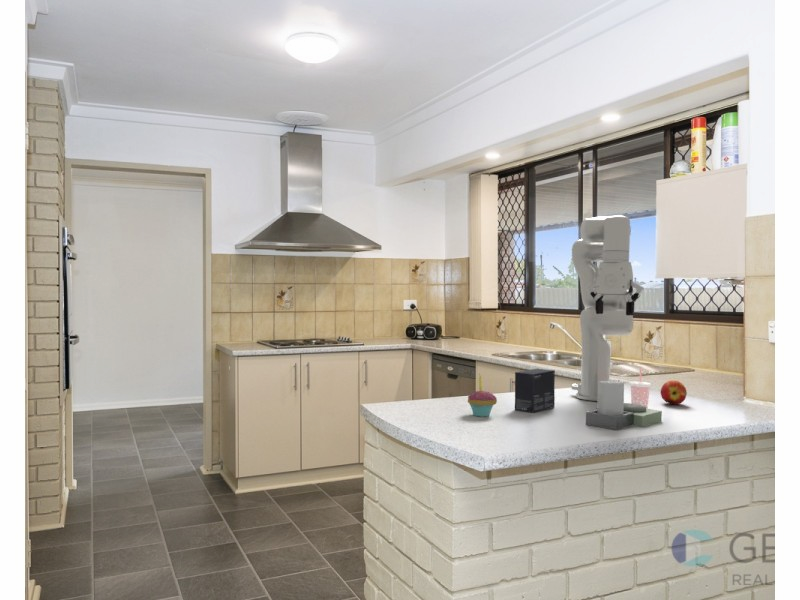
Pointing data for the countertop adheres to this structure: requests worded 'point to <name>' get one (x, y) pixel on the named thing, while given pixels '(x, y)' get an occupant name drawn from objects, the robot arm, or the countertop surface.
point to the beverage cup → (640, 392)
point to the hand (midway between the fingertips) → (614, 314)
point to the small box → (534, 390)
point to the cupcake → (481, 401)
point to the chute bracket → (610, 420)
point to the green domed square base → (643, 414)
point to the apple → (673, 392)
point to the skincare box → (610, 398)
